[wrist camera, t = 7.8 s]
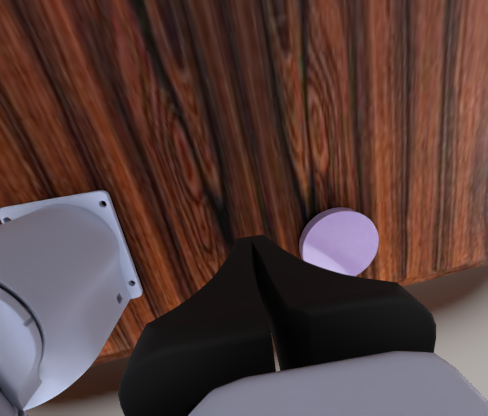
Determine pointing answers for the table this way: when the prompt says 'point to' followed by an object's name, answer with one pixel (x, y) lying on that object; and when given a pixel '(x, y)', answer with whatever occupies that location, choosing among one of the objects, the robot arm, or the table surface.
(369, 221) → the purple disc
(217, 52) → the table surface
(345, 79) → the table surface
